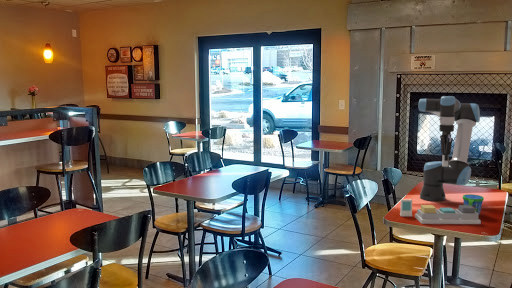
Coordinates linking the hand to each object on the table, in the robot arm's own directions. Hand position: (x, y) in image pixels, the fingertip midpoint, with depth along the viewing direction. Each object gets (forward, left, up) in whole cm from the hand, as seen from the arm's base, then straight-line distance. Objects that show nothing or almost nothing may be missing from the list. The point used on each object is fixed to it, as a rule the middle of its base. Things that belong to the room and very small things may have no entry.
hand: (445, 166), depth 263 cm
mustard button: (+18, -14, -23) cm, 32 cm away
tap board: (+18, -4, -26) cm, 32 cm away
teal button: (+18, -4, -24) cm, 30 cm away
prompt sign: (+9, -23, -26) cm, 36 cm away
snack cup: (+6, +14, -26) cm, 30 cm away
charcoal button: (+18, +6, -23) cm, 29 cm away
